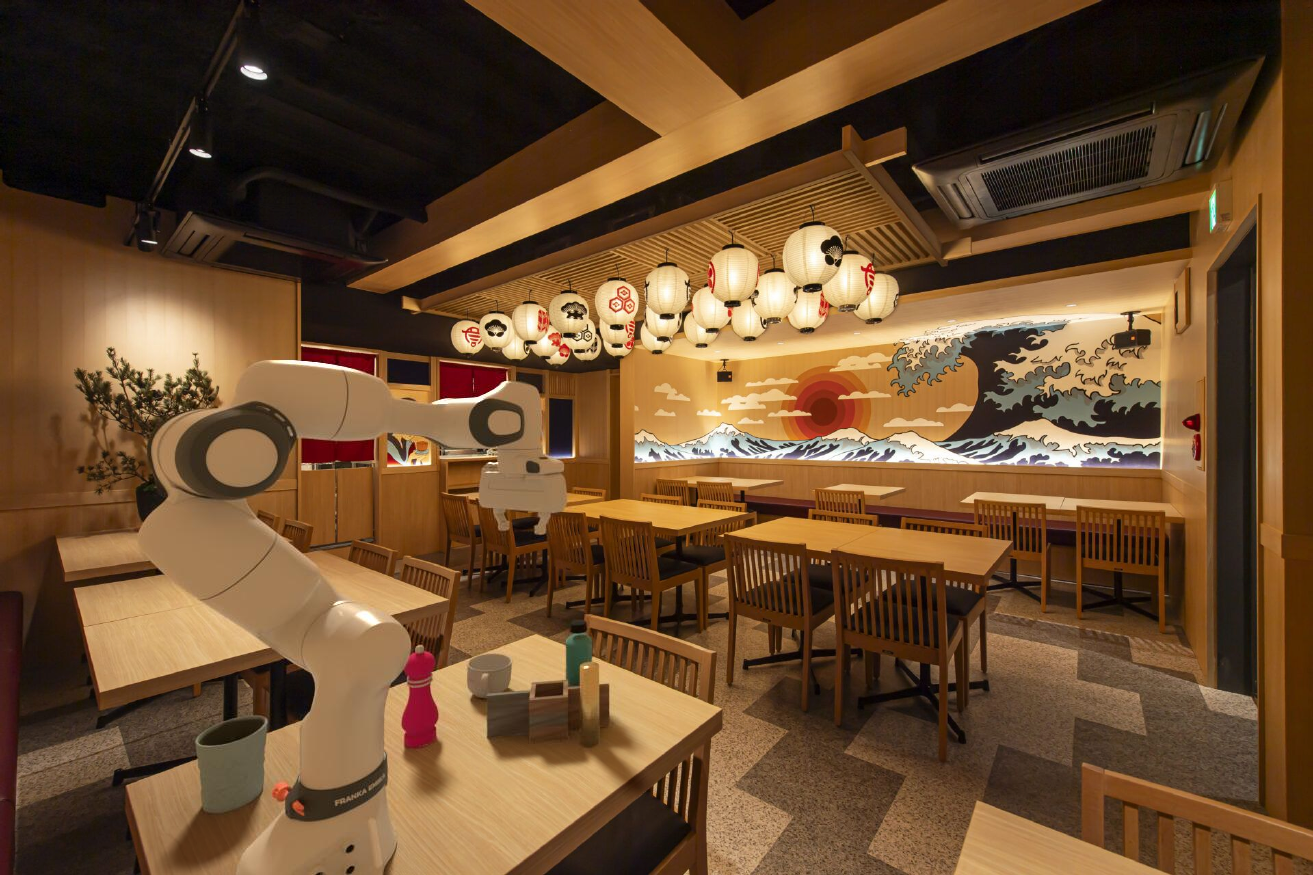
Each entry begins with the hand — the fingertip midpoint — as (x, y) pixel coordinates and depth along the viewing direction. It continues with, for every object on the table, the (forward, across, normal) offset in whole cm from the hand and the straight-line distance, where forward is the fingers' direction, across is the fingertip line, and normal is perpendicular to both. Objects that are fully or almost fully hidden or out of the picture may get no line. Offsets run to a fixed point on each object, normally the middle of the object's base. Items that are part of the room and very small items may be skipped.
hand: (521, 532), depth 106 cm
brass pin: (+45, +10, +9) cm, 47 cm away
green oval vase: (+45, -38, -34) cm, 68 cm away
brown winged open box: (+45, -1, +8) cm, 46 cm away
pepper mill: (+45, -23, -6) cm, 51 cm away
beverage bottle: (+45, -1, +20) cm, 50 cm away
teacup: (+45, -24, +14) cm, 53 cm away
